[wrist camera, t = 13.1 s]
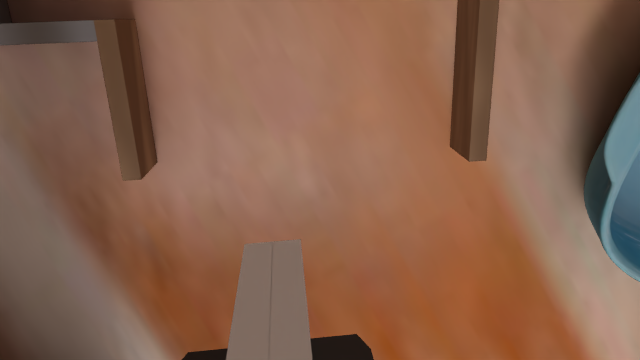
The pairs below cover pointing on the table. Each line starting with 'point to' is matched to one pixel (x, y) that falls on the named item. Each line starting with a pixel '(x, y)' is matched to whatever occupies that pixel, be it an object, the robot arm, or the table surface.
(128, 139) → the channel
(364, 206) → the table surface
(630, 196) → the casserole dish
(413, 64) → the table surface
